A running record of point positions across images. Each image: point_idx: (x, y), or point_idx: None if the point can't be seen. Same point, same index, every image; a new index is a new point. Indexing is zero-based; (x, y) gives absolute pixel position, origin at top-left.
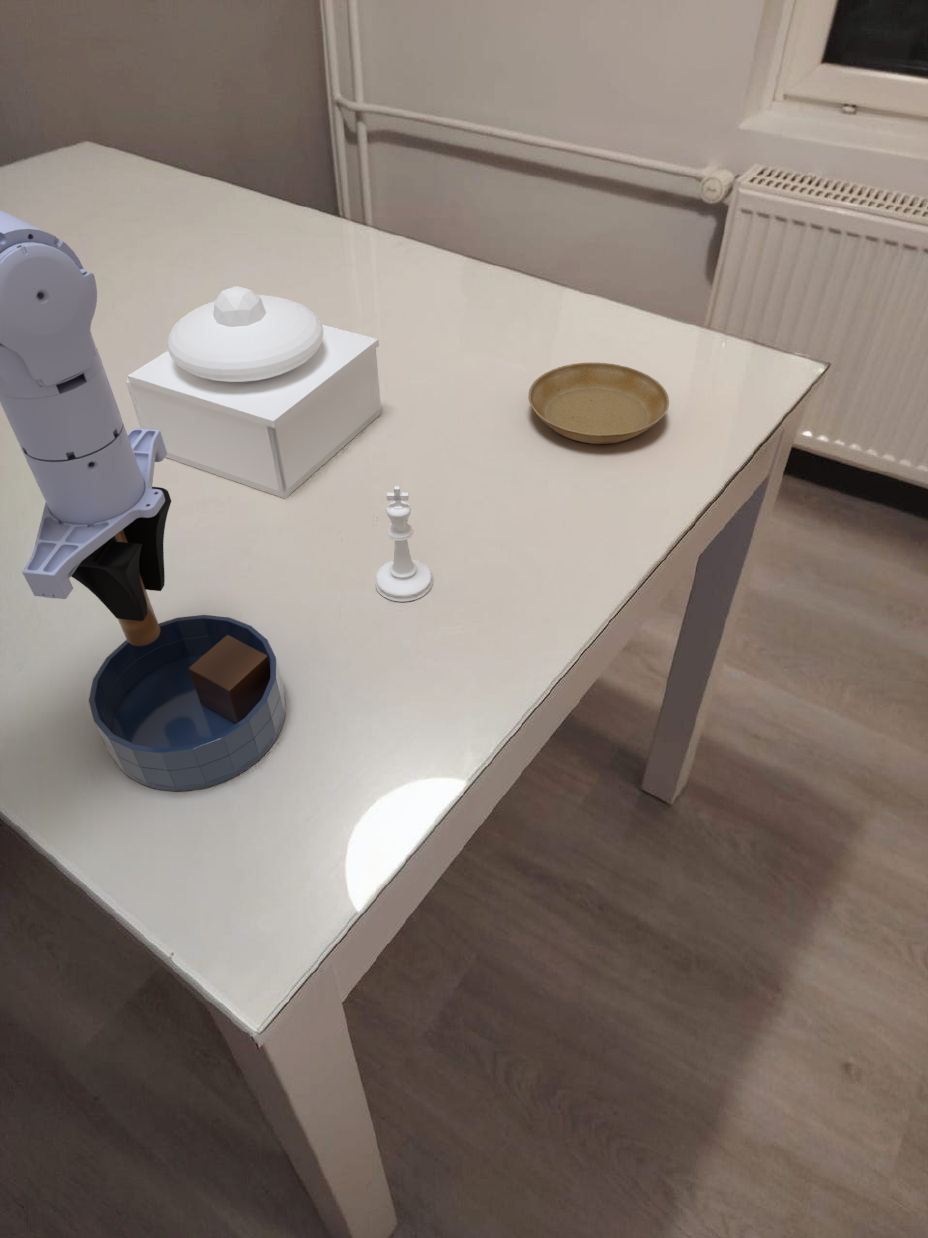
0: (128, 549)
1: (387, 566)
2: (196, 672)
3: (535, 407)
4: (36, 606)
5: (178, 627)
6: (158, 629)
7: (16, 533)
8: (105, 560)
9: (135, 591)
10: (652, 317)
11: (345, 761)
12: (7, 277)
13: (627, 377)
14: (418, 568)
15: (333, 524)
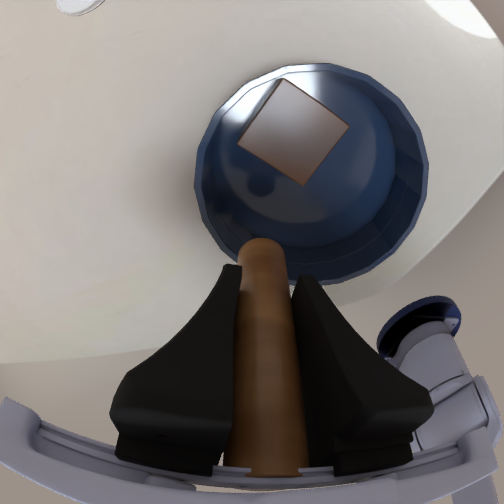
0: (391, 420)
1: (66, 4)
2: (311, 174)
3: None
4: (163, 331)
5: (210, 214)
6: (262, 242)
7: (98, 352)
8: (404, 430)
9: (346, 325)
10: None
11: (373, 8)
12: None
13: None
14: None
15: (10, 97)
